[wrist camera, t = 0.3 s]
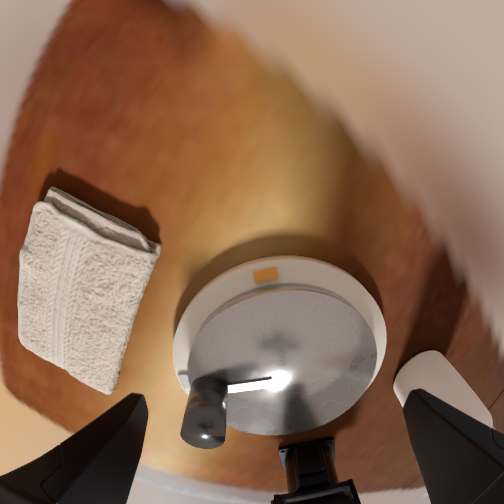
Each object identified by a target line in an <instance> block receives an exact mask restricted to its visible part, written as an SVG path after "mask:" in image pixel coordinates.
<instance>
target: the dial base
mask: <svg viewBox="0 0 504 504" xmlns="http://www.w3.org/2000/svg"><path fill="white" fill-rule="evenodd" d="M279 283H301V284H310V285H314V286H318V287H322V288H325V289H327V290H330V291H332V292H335V293H336V294H338V295H340V296H342V297H344V298H345V299H346V300H347V301H349V302H350V303H351V304H352V305H353V306H354V307H355V308H356V309H357V310H358V311H359V312H360V314H361V315H362V317H363V318H364V319H365V321H366V322H367V324H368V326H369V327H370V329H371V330H372V333H373V335H374V338H375V341H376V346H377V362H376V368H375V371H374V375H373V377H372V379H371V382H370V384H371V383H372V382H373V380H374V378H375V377H376V375H377V373H378V371H379V369H380V367H381V364H382V361H383V358H384V354H385V349H386V328H385V322H384V319H383V316H382V313H381V311H380V308H379V307H378V305H377V303H376V302H375V300H374V298H373V297H372V296H371V295H370V294H369V293H368V291H367V290H366V289H365V288H364V287H363V286H362V285H361V283H360V282H359V281H357V280H356V279H355V278H354V277H353V276H352V275H350V274H349V273H347V272H346V271H344V270H342V269H341V268H339V267H337V266H335V265H333V264H330V263H328V262H325V261H322V260H318V259H314V258H311V257H303V256H295V255H279V256H271V257H263V258H259V259H255V260H251V261H247V262H245V263H242V264H239V265H237V266H234V267H232V268H230V269H228V270H226V271H225V272H223V273H221V274H219V275H218V276H216V277H215V278H214V279H212V280H211V281H209V282H208V283H207V284H206V285H205V286H204V287H203V288H202V289H201V290H200V291H199V292H198V293H196V295H195V296H194V297H193V299H192V300H191V301H190V303H189V304H188V306H187V308H186V309H185V311H184V313H183V315H182V317H181V320H180V322H179V325H178V327H177V330H176V333H175V336H174V342H173V364H174V369H175V372H176V375H177V378H178V381H179V383H180V384H181V386H182V388H183V390H184V391H185V392H186V394H187V395H188V396H189V392H190V385H189V381H188V375H187V364H188V359H189V354H190V350H191V347H192V343H193V341H194V338H195V336H196V333H197V332H198V330H199V328H200V326H201V325H202V323H203V322H204V321H205V320H206V319H207V317H208V316H209V315H210V314H211V313H212V312H213V311H214V310H215V309H217V308H218V307H219V306H220V305H222V304H223V303H225V302H226V301H228V300H229V299H231V298H233V297H235V296H237V295H239V294H241V293H243V292H246V291H248V290H251V289H254V288H257V287H262V286H266V285H271V284H279ZM370 384H369V386H370ZM369 386H368V387H369ZM368 387H367V388H368ZM366 390H367V389H366ZM366 390H365V391H366Z"/></svg>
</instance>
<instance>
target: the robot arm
mask: <svg viewBox="0 0 504 504" xmlns="http://www.w3.org/2000/svg"><path fill="white" fill-rule="evenodd" d="M403 413H404V417H405V421H406V425H407V429H408V433H409V437H410V441H411V445H412V448H413V451H414V453H415V456H416V459H417V462H418V465H419V468H420V470H421V473H422V476H423V479H424V482H425V485H426V489H427V492H428V495H429V498H430V501H431V504H504V434H502V433H500V432H498V431H496V430H495V429H493V428H490V427H489V426H487V425H485V424H484V423H482V422H480V421H478V420H476V419H474V418H473V417H471V416H469V415H467V414H466V413H464V412H462V411H460V410H458V409H457V408H455V407H453V406H451V405H450V404H448V403H446V402H444V401H443V400H441V399H439V398H437V397H436V396H434V395H432V394H431V393H429V392H427V391H425V390H424V389H422V388H419V389H414V390H411V391H410V393H409V395H408V397H407V399H406V401H405V404H404V406H403ZM147 421H148V408H147V405H146V401H145V397H144V395H143V394H138V393H130V394H129V395H127V396H126V397H125V398H123V399H122V400H121V401H119V402H118V403H116V404H115V405H114V406H112V407H111V408H110V409H108V410H107V411H106V412H104V413H103V414H101V415H100V416H99V417H97V418H96V419H95V420H93V421H92V422H90V423H89V424H88V425H86V426H85V427H83V428H82V429H81V430H79V431H78V432H76V433H75V434H73V435H72V436H71V437H69V438H68V439H66V440H65V441H64V442H62V443H61V444H60V445H57V446H56V447H55V448H53V449H52V450H50V451H49V452H47V453H45V454H44V455H42V456H41V457H39V458H37V459H35V460H33V461H32V462H30V463H28V464H26V465H24V466H21V467H20V468H17V469H15V470H13V471H11V472H9V473H7V474H4V475H2V476H0V504H126V503H127V499H128V496H129V493H130V489H131V486H132V483H133V479H134V476H135V473H136V470H137V466H138V463H139V460H140V457H141V453H142V448H143V442H144V437H145V431H146V426H147ZM278 450H279V455H280V459H281V462H282V466H283V470H284V473H286V477H287V486H288V494H281V495H279V494H277V495H274V500H272V501H271V504H361V503H360V500H359V497H358V494H357V491H356V488H355V486H354V483H353V480H352V479H349V480H347V481H344V482H340V483H339V482H338V478H337V474H336V470H335V466H334V455H335V441H334V438H326V439H322V440H317V441H312V442H307V443H302V444H297V445H291V446H285V447H280V448H279V449H278Z"/></svg>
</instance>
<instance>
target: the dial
mask: <svg viewBox="0 0 504 504" xmlns="http://www.w3.org/2000/svg"><path fill="white" fill-rule="evenodd" d="M376 362H377V346H376V341H375V338H374V335H373V333H372V330H371V329H370V327H369V326H368V324H367V322H366V321H365V319H364V318H363V317H362V315H361V314H360V312H359V311H358V310H357V309H356V308H355V307H354V306H353V305H352V304H351V303H350V302H349V301H347V300H346V299H345V298H344V297H342V296H340V295H338V294H336V293H335V292H332V291H330V290H327V289H325V288H322V287H318V286H314V285H310V284H301V283H279V284H271V285H266V286H262V287H257V288H254V289H251V290H248V291H246V292H243V293H241V294H239V295H237V296H235V297H233V298H231V299H229V300H228V301H226V302H225V303H223V304H222V305H220V306H219V307H218V308H217V309H215V310H214V311H213V312H212V313H211V314H210V315H209V316H208V317H207V319H206V320H205V321H204V322H203V323H202V325H201V326H200V328H199V330H198V332H197V333H196V336H195V338H194V341H193V343H192V347H191V350H190V354H189V359H188V364H187V375H188V381H189V385H190V392H189V397H188V401H187V406H186V410H185V414H184V419H183V423H182V428H181V433H180V434H181V437H182V439H183V440H184V441H185V442H186V443H188V444H190V445H192V446H194V447H198V448H203V449H212V448H217V447H219V446H221V445H222V444H223V443H224V441H225V432H226V425H227V426H230V427H232V428H234V429H237V430H240V431H243V432H248V433H252V434H259V435H288V434H295V433H300V432H304V431H308V430H311V429H314V428H317V427H319V426H322V425H324V424H326V423H328V422H330V421H332V420H334V419H335V418H337V417H338V416H340V415H341V414H343V413H344V412H345V411H347V410H348V409H349V408H350V407H352V406H353V405H354V404H355V403H356V402H357V401H358V399H359V398H360V397H361V396H362V395H363V393H364V392H365V390H366V389H367V387H368V386H369V384H370V382H371V379H372V377H373V375H374V371H375V368H376Z"/></svg>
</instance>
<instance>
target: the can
mask: <svg viewBox="0 0 504 504" xmlns="http://www.w3.org/2000/svg"><path fill="white" fill-rule="evenodd" d="M419 388H422V389H424V390H425V391H427V392H429V393H431V394H432V395H434V396H436V397H437V398H439V399H441V400H443V401H444V402H446V403H448V404H450V405H451V406H453V407H455V408H457V409H458V410H460V411H462V412H464V413H466V414H467V415H469V416H471V417H473V418H474V419H476V420H478V421H480V422H482V423H484V424H485V425H487V426H489V427H490V428H493V429H495V428H494V427H493V422H492V416H491V414H490V412H489V411H488V410H487V408H486V407H485V406H484V404H483V403H482V402H481V400H480V399H479V398H478V397H477V395H476V394H475V393H474V392H473V390H472V389H471V388H470V387H469V385H468V384H467V383H466V382H465V380H464V379H463V378H462V377H461V376H460V374H459V373H458V372H457V371H456V370H455V369H454V367H453V366H452V365H451V364H450V363H449V362H448V361H447V359H446V358H445V357H444V356H443V355H442V354H441V353H440V352H438V351H425V352H421V353H419V354H417V355H415V356H414V357H412V358H411V359H410V360H408V361H407V362H406V363H405V364H404V365H403V366H402V367H401V369H400V370H399V372H398V373H397V375H396V378H395V381H394V391H395V394H396V395H397V397H398V399H399V401H400V403H401V405H402V406H404V404H405V401H406V399H407V397H408V395H409V393H410V391H411V390H414V389H419ZM495 430H496V429H495Z"/></svg>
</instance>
